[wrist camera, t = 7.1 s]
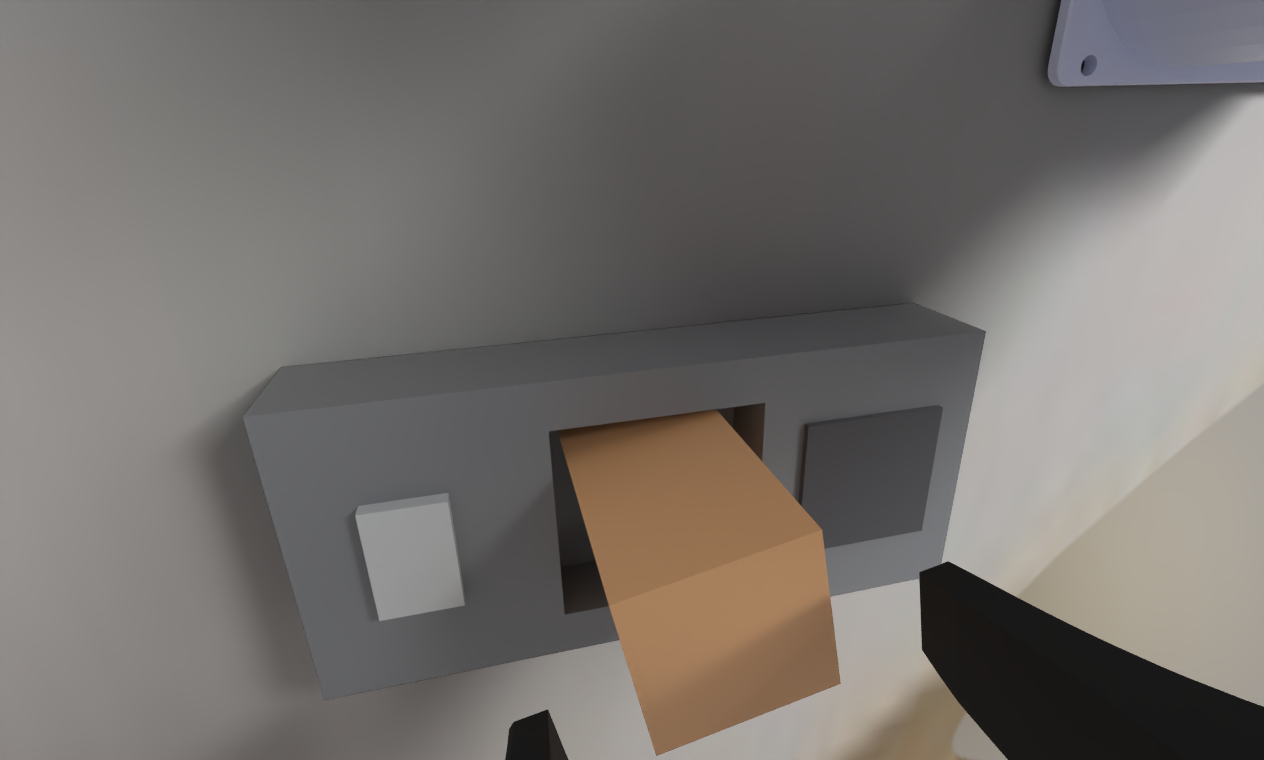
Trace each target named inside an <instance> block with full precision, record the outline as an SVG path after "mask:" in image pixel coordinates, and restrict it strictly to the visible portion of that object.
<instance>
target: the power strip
mask: <svg viewBox="0 0 1264 760" xmlns="http://www.w3.org/2000/svg"><path fill="white" fill-rule="evenodd" d="M985 333H986V331H984V330H981V329H979V328H976V327H974V326H971V325H969V324H966V323H963V322H961V321H958V320H956V319H953V318H951V317H948V316H946V315H943V314H941V313H938V312H935V311H933V310H930V309H928V308H925V307H923V306H920V305H918V304H915V303H909V304H899V305H890V306H880V307H870V308H860V309H850V310H840V311H831V312H821V313H811V314H801V315H791V316H781V317H771V318H762V319H752V320H742V321H732V322H722V323H712V324H703V325H693V326H683V327H673V328H663V329H653V330H644V331H634V332H624V333H614V334H604V335H594V336H584V337H575V338H565V339H555V340H545V341H535V342H525V343H516V344H506V345H496V346H486V347H476V348H466V349H457V350H447V351H437V352H427V353H417V354H407V355H398V356H388V357H378V358H368V359H358V360H348V361H338V362H329V363H319V364H309V365H299V366H289V367H281V368H280V369H279V371H278V372H277V373H276V375H275V376H274V377H273V378H272V380H271V381H270V382H269V384H268V385H267V386H266V387H265V389H264V390H263V391H262V393H261V394H260V395H259V396H258V398H257V399H256V400H255V401H254V403H253V404H252V405H251V407H250V408H249V409H248V410H247V412H246V413H245V414H244V416H243V417H242V418H243V421H244V424H245V428H246V431H247V435H248V438H249V442H250V445H251V448H252V452H253V455H254V459H255V462H256V466H257V469H258V473H259V476H260V479H261V483H262V486H263V490H264V493H265V497H266V500H267V504H268V507H269V510H270V514H271V517H272V521H273V524H274V528H275V531H276V534H277V538H278V541H279V545H280V548H281V552H282V555H283V559H284V562H285V565H286V569H287V572H288V576H289V579H290V583H291V586H292V590H293V593H294V596H295V600H296V603H297V607H298V610H299V614H300V617H301V620H302V624H303V627H304V631H305V634H306V638H307V641H308V645H309V648H310V651H311V655H312V658H313V662H314V665H315V669H316V672H317V676H318V679H319V682H320V686H321V689H322V693H323V696H324V700H328V699H333V698H338V697H343V696H348V695H353V694H358V693H362V692H367V691H372V690H377V689H382V688H387V687H392V686H397V685H401V684H406V683H411V682H416V681H421V680H426V679H431V678H436V677H441V676H445V675H450V674H455V673H460V672H465V671H470V670H475V669H480V668H484V667H489V666H494V665H499V664H504V663H509V662H514V661H519V660H523V659H528V658H533V657H538V656H543V655H548V654H553V653H558V652H563V651H567V650H572V649H577V648H582V647H587V646H592V645H597V644H602V643H606V642H611V641H616V640H620V639H619V636H618V633H617V630H616V626H615V623H614V620H613V617H612V614H611V611H610V607H609V604H608V601H607V597H606V594H605V591H604V587H603V584H602V580H601V577H600V574H599V570H598V567H597V563H596V560H595V557H594V553H593V550H592V546H591V543H590V540H589V536H588V533H587V529H586V526H585V523H584V519H583V516H582V512H581V509H580V506H579V502H578V499H577V496H576V492H575V489H574V485H573V482H572V479H571V475H570V472H569V468H568V465H567V462H566V458H565V455H564V451H563V448H562V445H561V441H560V438H559V434H558V431H557V430H563V429H570V428H578V427H585V426H593V425H601V424H608V423H616V422H623V421H631V420H639V419H646V418H654V417H661V416H669V415H677V414H684V413H692V412H699V411H707V410H715V409H716V410H717V411H718V412H719V413H720V414H721V415H722V417H723V418H724V419H725V420H726V421H727V422H728V423H729V425H730V426H731V427H732V428H733V429H734V430H735V431H736V433H737V434H738V435H739V436H740V437H741V438H742V439H743V440H744V442H745V443H746V444H747V445H748V446H749V447H750V448H751V450H752V451H753V452H754V453H755V454H756V455H757V456H758V457H759V459H760V460H761V461H762V462H763V463H764V464H765V465H766V467H767V468H768V469H769V470H770V471H771V472H772V473H773V475H774V476H775V477H776V478H777V479H778V480H779V481H780V482H781V484H782V485H783V486H784V487H785V488H786V489H787V490H788V492H789V493H790V494H791V495H792V496H793V497H794V498H795V499H796V501H797V502H798V503H799V504H800V505H801V506H802V507H803V509H804V510H805V511H806V512H807V513H808V514H809V515H810V517H811V518H812V519H813V520H814V521H815V522H816V523H817V524H818V526H819V527H820V528H821V529H822V533H823V541H824V549H825V558H826V566H827V574H828V583H829V591H830V597H831V596H836V595H841V594H846V593H850V592H855V591H860V590H865V589H870V588H875V587H880V586H885V585H890V584H894V583H899V582H904V581H909V580H914V579H919V578H920V577H919V572H921V571H924V570H926V569H929V568H932V567H935V566H937V565H940V564H941V562H942V557H943V551H944V546H945V541H946V536H947V531H948V525H949V520H950V515H951V510H952V505H953V499H954V494H955V489H956V484H957V479H958V473H959V468H960V463H961V458H962V453H963V447H964V442H965V437H966V432H967V427H968V421H969V416H970V411H971V406H972V401H973V395H974V390H975V385H976V380H977V375H978V369H979V364H980V359H981V354H982V349H983V343H984V338H985Z"/></svg>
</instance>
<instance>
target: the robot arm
mask: <svg viewBox="0 0 1264 760" xmlns="http://www.w3.org/2000/svg"><path fill="white" fill-rule="evenodd" d="M1083 60H1084V69H1083V71H1082V72H1081V64H1082V62H1083ZM1048 77H1049V81H1050V82H1051V83H1052V84H1053V85H1054V86H1058V87H1071V86H1116V85H1162V84H1207V83H1252V82H1264V0H1061V5H1060V10H1059V15H1058V20H1057V25H1056V30H1055V35H1054V40H1053V45H1052V50H1051V55H1050V60H1049V65H1048ZM919 577H920V604H921V631H922V650H923V652H924V653H925V655H926V656H927V658H928V659H929V661H930V662H931V664H932V665H933V667H934V668H935V670H936V671H937V673H938V674H939V676H940V677H941V678H942V680H943V681H944V683H945V684H946V685H947V687H948V688H949V690H950V691H951V692H952V694H953V695H954V697H955V698H956V699H957V701H958V702H959V703H960V705H961V706H962V707H963V708H964V709H965V710H966V712H967V713H968V714H969V715H970V716H971V717H972V719H973V720H974V721H975V722H976V723H977V724H978V725H979V727H980V728H981V729H982V730H983V731H984V733H985V734H986V735H987V736H988V737H989V738H990V740H991V741H992V742H993V743H994V744H995V745H996V746H997V748H998V749H999V750H1000V751H1001V752H1002V753H1003V754H1004V755H1005V757H1006V758H1007V759H1008V760H1264V707H1263V706H1260V705H1257V704H1254V703H1252V702H1249V701H1246V700H1243V699H1241V698H1238V697H1236V696H1233V695H1231V694H1228V693H1225V692H1223V691H1220V690H1218V689H1215V688H1213V687H1210V686H1207V685H1205V684H1202V683H1200V682H1197V681H1194V680H1192V679H1190V678H1187V677H1185V676H1182V675H1180V674H1177V673H1175V672H1173V671H1170V670H1168V669H1166V668H1163V667H1161V666H1159V665H1156V664H1154V663H1152V662H1150V661H1147V660H1145V659H1143V658H1141V657H1138V656H1136V655H1134V654H1132V653H1129V652H1127V651H1125V650H1123V649H1121V648H1118V647H1116V646H1114V645H1112V644H1110V643H1108V642H1105V641H1103V640H1101V639H1099V638H1097V637H1095V636H1093V635H1091V634H1088V633H1086V632H1084V631H1082V630H1080V629H1078V628H1076V627H1074V626H1072V625H1070V624H1068V623H1066V622H1064V621H1062V620H1060V619H1058V618H1056V617H1054V616H1052V615H1050V614H1048V613H1046V612H1044V611H1042V610H1040V609H1038V608H1036V607H1034V606H1032V605H1030V604H1029V603H1026V602H1025V601H1023V600H1021V599H1019V598H1017V597H1015V596H1013V595H1011V594H1009V593H1007V592H1006V591H1004V590H1002V589H1000V588H998V587H996V586H994V585H992V584H990V583H989V582H987V581H985V580H983V579H981V578H979V577H977V576H975V575H973V574H972V573H970V572H968V571H966V570H964V569H962V568H960V567H958V566H956V565H954V564H952V563H950V562H945V563H943V564H940V565H937V566H935V567H932V568H929V569H926V570H924V571H921V572H919ZM505 760H568V758H567V755H566V753H565V750H564V748H563V746H562V743H561V741H560V738H559V736H558V733H557V731H556V728H555V726H554V723H553V721H552V718H551V716H550V714H549V711H548V710H545V711H542V712H540V713H537V714H534V715H532V716H529V717H526V718H523V719H521V720H518V721H515V722H513V724H512V726H511V727H510V729H509V736H508V745H507V752H506V759H505Z"/></svg>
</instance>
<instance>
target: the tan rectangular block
mask: <svg viewBox="0 0 1264 760" xmlns="http://www.w3.org/2000/svg"><path fill="white" fill-rule="evenodd" d="M557 431H558V434H559V438H560V441H561V445H562V448H563V451H564V455H565V458H566V462H567V465H568V468H569V472H570V475H571V479H572V482H573V485H574V489H575V492H576V496H577V499H578V502H579V506H580V509H581V512H582V516H583V519H584V523H585V526H586V529H587V533H588V536H589V540H590V543H591V546H592V550H593V553H594V557H595V560H596V563H597V567H598V570H599V574H600V577H601V580H602V584H603V587H604V591H605V594H606V597H607V601H608V604H609V607H610V611H611V614H612V617H613V620H614V623H615V626H616V630H617V633H618V636H619V639H620V642H621V645H622V649H623V652H624V655H625V658H626V661H627V664H628V668H629V671H630V674H631V677H632V680H633V683H634V687H635V690H636V693H637V696H638V699H639V702H640V706H641V709H642V712H643V715H644V718H645V721H646V725H647V728H648V731H649V734H650V737H651V740H652V743H653V747H654V750H655V753H656V756H658V755H660V754H663V753H665V752H668V751H670V750H673V749H675V748H678V747H681V746H683V745H686V744H688V743H691V742H693V741H696V740H698V739H701V738H703V737H706V736H708V735H711V734H714V733H716V732H719V731H721V730H724V729H726V728H729V727H731V726H734V725H736V724H739V723H742V722H744V721H747V720H749V719H752V718H754V717H757V716H759V715H762V714H764V713H767V712H770V711H772V710H775V709H777V708H780V707H782V706H785V705H787V704H790V703H792V702H795V701H798V700H800V699H803V698H805V697H808V696H810V695H813V694H815V693H818V692H820V691H823V690H826V689H828V688H831V687H833V686H836V685H838V684H841V683H840V675H839V667H838V658H837V650H836V641H835V633H834V625H833V616H832V608H831V600H830V591H829V583H828V574H827V566H826V558H825V549H824V541H823V533H822V529H821V528H820V527H819V526H818V524H817V523H816V522H815V521H814V520H813V519H812V518H811V517H810V515H809V514H808V513H807V512H806V511H805V510H804V509H803V507H802V506H801V505H800V504H799V503H798V502H797V501H796V499H795V498H794V497H793V496H792V495H791V494H790V493H789V492H788V490H787V489H786V488H785V487H784V486H783V485H782V484H781V482H780V481H779V480H778V479H777V478H776V477H775V476H774V475H773V473H772V472H771V471H770V470H769V469H768V468H767V467H766V465H765V464H764V463H763V462H762V461H761V460H760V459H759V457H758V456H757V455H756V454H755V453H754V452H753V451H752V450H751V448H750V447H749V446H748V445H747V444H746V443H745V442H744V440H743V439H742V438H741V437H740V436H739V435H738V434H737V433H736V431H735V430H734V429H733V428H732V427H731V426H730V425H729V423H728V422H727V421H726V420H725V419H724V418H723V417H722V415H721V414H720V413H719V412H718V411H717V410H716V409H715V410H707V411H699V412H692V413H684V414H677V415H669V416H661V417H654V418H646V419H639V420H631V421H623V422H616V423H608V424H601V425H593V426H585V427H578V428H570V429H563V430H557Z"/></svg>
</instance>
